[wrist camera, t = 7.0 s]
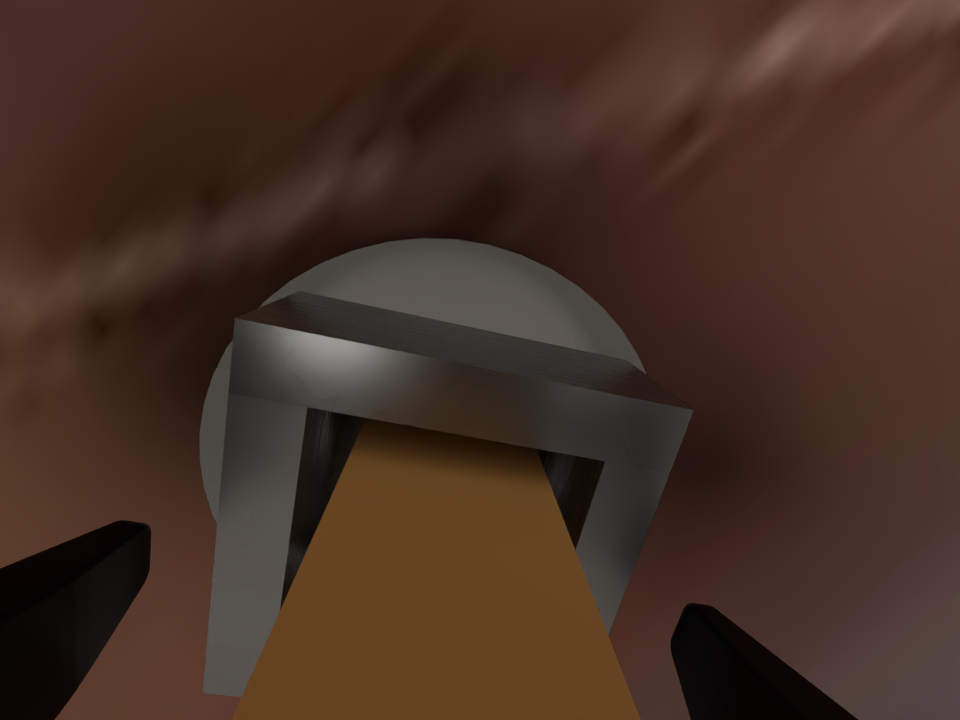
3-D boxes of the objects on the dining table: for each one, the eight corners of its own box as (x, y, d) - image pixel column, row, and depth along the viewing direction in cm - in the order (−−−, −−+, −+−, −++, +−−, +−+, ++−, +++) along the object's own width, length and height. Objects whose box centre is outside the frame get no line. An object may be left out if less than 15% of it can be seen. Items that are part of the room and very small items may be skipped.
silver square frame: (698, 293, 11) (834, 329, 7) (576, 636, 14) (625, 797, 10) (243, 186, 10) (104, 159, 6) (209, 588, 13) (100, 751, 9)
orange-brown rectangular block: (525, 419, 11) (711, 902, 3) (493, 543, 12) (574, 1152, 4) (376, 393, 10) (162, 875, 3) (355, 524, 11) (151, 1159, 4)
